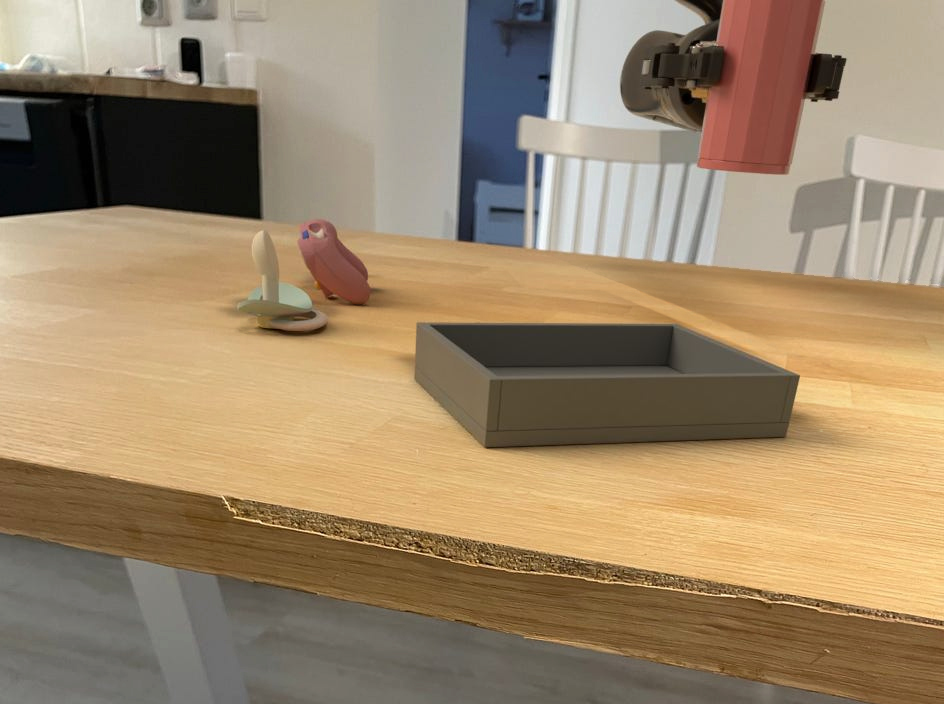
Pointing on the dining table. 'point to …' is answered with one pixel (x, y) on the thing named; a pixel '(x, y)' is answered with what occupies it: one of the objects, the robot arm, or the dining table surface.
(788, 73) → the tumbler
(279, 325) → the pacifier
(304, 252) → the pink owl figurine
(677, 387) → the shallow grey tray
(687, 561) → the dining table surface
